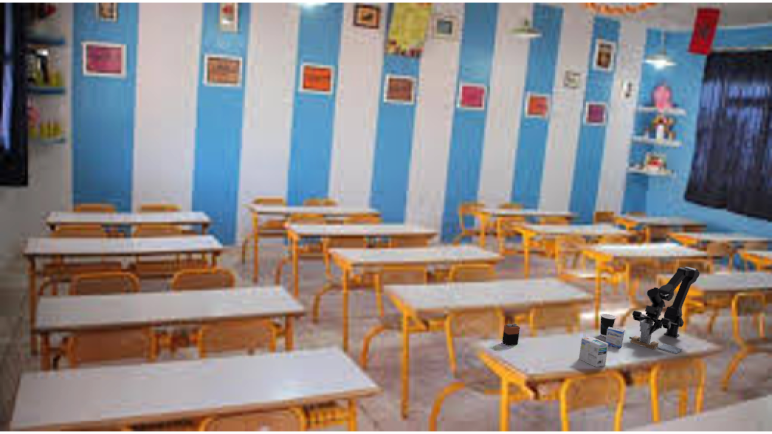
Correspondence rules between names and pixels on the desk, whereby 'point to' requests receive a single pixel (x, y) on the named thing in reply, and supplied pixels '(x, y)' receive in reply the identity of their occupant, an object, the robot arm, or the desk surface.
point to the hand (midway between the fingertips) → (645, 332)
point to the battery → (511, 334)
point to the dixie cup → (606, 323)
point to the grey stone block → (645, 330)
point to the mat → (669, 348)
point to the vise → (637, 341)
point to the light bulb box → (593, 351)
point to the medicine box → (614, 337)
